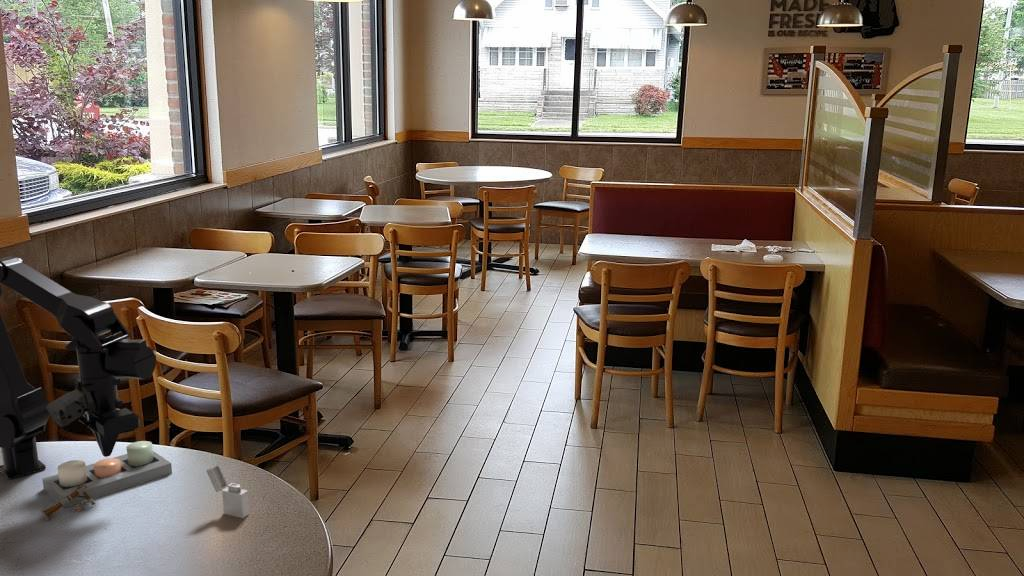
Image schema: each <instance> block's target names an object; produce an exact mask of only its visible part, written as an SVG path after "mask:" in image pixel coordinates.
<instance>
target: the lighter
mask: <svg viewBox="0 0 1024 576" xmlns="http://www.w3.org/2000/svg"><path fill="white" fill-rule="evenodd" d="M206 474H207V476H208V478H209V480H210V483H211V485H212V486H213V489H214V491H215V492H218V493H219V492H220V491H222V492H221V493H222V504H223V505H222V506H223V514H224V515H227V516H231V517H236V518H240V519H244V518H246V517H248V516H249V515H250V508H249V495H248V494H249V493H248V492H249V491H248V490H247V489H242V487H241V484H239V483H236V482H235V483H234V482H231V483H228V482H227V480H226V477H225V475H224V473H223V472H222V469H221V467H220V465H219V464H214V465H212V466H210V467H209V468H207V469H206Z"/></svg>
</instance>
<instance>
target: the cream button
mask: <svg viewBox="0 0 1024 576" xmlns="http://www.w3.org/2000/svg"><path fill="white" fill-rule="evenodd" d="M86 466H87V465H86V462H85V461H84V460H81V459H80V460H79V459H78V460H69V461H65V462H63V463H61V464H59V465H58V466H57V474H58V476H59V483H60V485H61V486H64V487H68V488H73V487H76V486H78V485H82V484H85V483H84V482H86V481H87V473H86Z"/></svg>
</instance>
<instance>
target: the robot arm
mask: <svg viewBox="0 0 1024 576" xmlns="http://www.w3.org/2000/svg"><path fill="white" fill-rule="evenodd" d="M1 284H2V285H4V286H5V287H7V288H9V289H11V290H12V291H14V292H15V293H17V294H19V296H21V297H23V298H25V299H27V300H29V301H30V302H32V303H33V304H35V305H37V306H38V307H40V308H42V309H43V310H44V311H46V312H48V313H50V314H52V315H53V317H55V318H56V320H57V323H58V326H59V328H61V329H62V330H63V331H64V332H66V333H67V334H68V335H69V336H71V337H72V339H71V341H70V342H68V343H67V344H66V345H65V349H66V351H74V352H75V351H76V356H77V363H78V365H77V366H78V372H79V373H78V374H79V379H78V378H77V379H76V380H75V381H76V382H74V387H75V388H74V390H72V391H70V392H67V393H65V394H63V395H62V396H60V397H57V398H55V400H53V401H51V402H48V399H47V396H46V392H45V390H44V389H43V388H42V387H39V388H35V387H34V386H33V385H31V384H30V383H28V381H27V379H26V377H25V374H24V372H23V368H22V366H21V364H20V361H19V359H18V356H17V353H16V351H15V347H14V345H13V343H12V340H11V338H10V335H9V332H8V330H7V326H6V324H5V322H4V319H3V317H2V314H1V313H0V448H1V449H0V450H1V456H2V457H1V458H2V463H3V464H2V465H0V472H1V474H2V475H3V476H4V477H6V479H7V480H10V479H14V478H17V477H22V476H25V475H28V474H32V473H35V472H38V471H44V470H45V469H46V465H45V464H44V463H43V462H42V461H41V460H40V459H39V455H38V447H37V439H36V435H38V434H40V433H44V432H45V431H46V427H47V423H48V421H49V419H50V417H51V419H52V420H53V422H54V423H56V424H57V425H58V426H59V427H62V428H63V427H66V426H68V425H71V423H72V422H74V421H75V420H78V421H79V422H81V423H82V424H83V425H85V426H87V428H89V429H91V431H92V433H93V436H94V438H95V441H96V443H97V445H98V448H99V450H100V452H101V454H102V456H103V457H104V458H106V457H107V458H108V457H110V456H111V455H112V453H113V450H114V448H115V446H116V443H117V441H118V438H119V435H120V434H121V433H125V432H129V431H133V430H136V429H140V427H141V418H140V415H138V414H137V413H135V412H133V411H131V410H130V409H128V408H126V407H124V408H120V407H123V406H124V404H123V403H124V402H123V400H122V399H121V398H119V395H118V394H119V393H118V385H121V378H126V379H127V378H128V379H137V380H147V379H149V378H150V377H151V376H152V375H153V373H154V372H155V370H156V366H157V356H156V354H155V351H154V350H153V349H152V348H151V347H150V346H147V340H146V339H141V338H140V339H139V338H138V339H130V338H131V334H130V332H129V331H128V329H127V328H126V326H125V325H124V324H123V323H122V321H121V320H120V318H119V317H118V316H117V315H116V313H115V312H114V311H115V309H114V308H113V307H112V306H111V305H110V304H109V303H108V302H105V301H102V300H100V299H98V298H95V297H93V296H88V295H81V294H78V293H75V292H73V291H71V290H69V289H67V288H65V287H64V286H62V285H60V284H59V283H58V282H56V281H54V280H53V279H51V278H49V277H47V276H46V275H44V274H42V273H41V272H39V271H38V270H36V269H35V268H32V267H31V266H29V265H28V264H26V263H25V262H24V260H23V259H21V257H18V256H8V257H3V258H0V301H1V298H2V295H3V290H2V289H3V288H2V286H1ZM109 332H110V333H109ZM107 333H109V334H107ZM105 334H106V335H105ZM103 335H105V336H103ZM99 336H102V337H99ZM98 337H99V338H98Z"/></svg>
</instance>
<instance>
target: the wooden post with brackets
mask: <svg viewBox="0 0 1024 576" xmlns="http://www.w3.org/2000/svg"><path fill="white" fill-rule="evenodd" d="M83 484H85V483H82V484H80V485H81V486H80V485H77V488H76V490H75V491H74V492H73V493H71V494H70V495H69V494H68V496H67V497H66V496H65V497H64V498H63V499H62V500H60V502H57V503H55V504H54V505H52V506H50V507H48V508H46V509H43V508H41V509H39V511H40V513H41V514H42V516H43V517H44V519H45V520H46V521H47V522H49V521H51V519H50V518H51V517H52V516H53V515H54V514H55V513H56V512H57V511H59V510H60V509H61V508H64V507H63V506H65V505H67V504H68V503H70V501H73V499H74V498H75V497H81V498H86V499H87V501H83V502H79V503H77V504H75V505H74V506H73V509H72V513H76V512H77V513H79V512H80V511H81V510H83V509H85V506H87V504H88V503H90V505H91V506H94V505H96V502H95V501H94V498H93V499H92V498H91V497H90V496H89V495H88V494H87V493H86V492H85V491H86V490H87V488H88V487H89V485H88V484H85V485H83ZM82 493H83V494H84V496H79V494H80V495H81V494H82Z"/></svg>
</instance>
